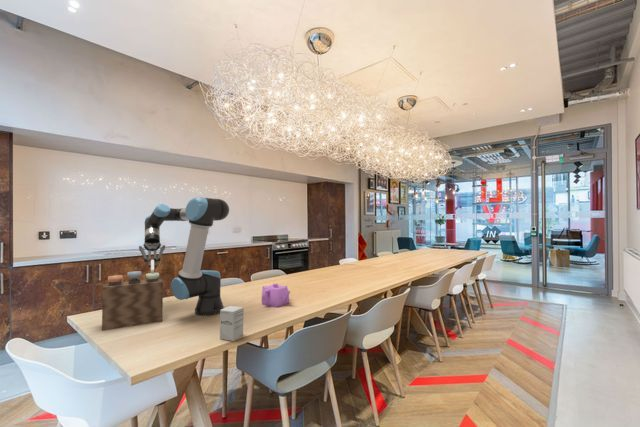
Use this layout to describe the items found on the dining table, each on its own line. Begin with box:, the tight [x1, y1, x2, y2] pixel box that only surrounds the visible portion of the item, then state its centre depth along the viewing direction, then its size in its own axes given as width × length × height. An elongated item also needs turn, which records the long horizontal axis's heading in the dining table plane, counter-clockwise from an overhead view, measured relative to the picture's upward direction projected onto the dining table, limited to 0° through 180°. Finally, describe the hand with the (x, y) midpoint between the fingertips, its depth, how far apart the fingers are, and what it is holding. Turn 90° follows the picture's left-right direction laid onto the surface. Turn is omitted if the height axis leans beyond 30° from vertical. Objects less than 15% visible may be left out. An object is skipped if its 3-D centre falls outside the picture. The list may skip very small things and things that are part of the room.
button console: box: [101, 278, 164, 331], centre depth 149 cm, size 25×10×22 cm, turn 121°
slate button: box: [126, 270, 142, 280], centre depth 150 cm, size 6×6×4 cm
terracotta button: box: [107, 274, 124, 283], centre depth 145 cm, size 6×6×4 cm
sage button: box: [145, 272, 160, 280], centre depth 154 cm, size 6×6×4 cm
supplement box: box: [219, 305, 245, 342], centre depth 129 cm, size 7×7×13 cm
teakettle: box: [261, 283, 291, 308], centre depth 183 cm, size 17×17×12 cm
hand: (152, 271), depth 154 cm, fingers closed
